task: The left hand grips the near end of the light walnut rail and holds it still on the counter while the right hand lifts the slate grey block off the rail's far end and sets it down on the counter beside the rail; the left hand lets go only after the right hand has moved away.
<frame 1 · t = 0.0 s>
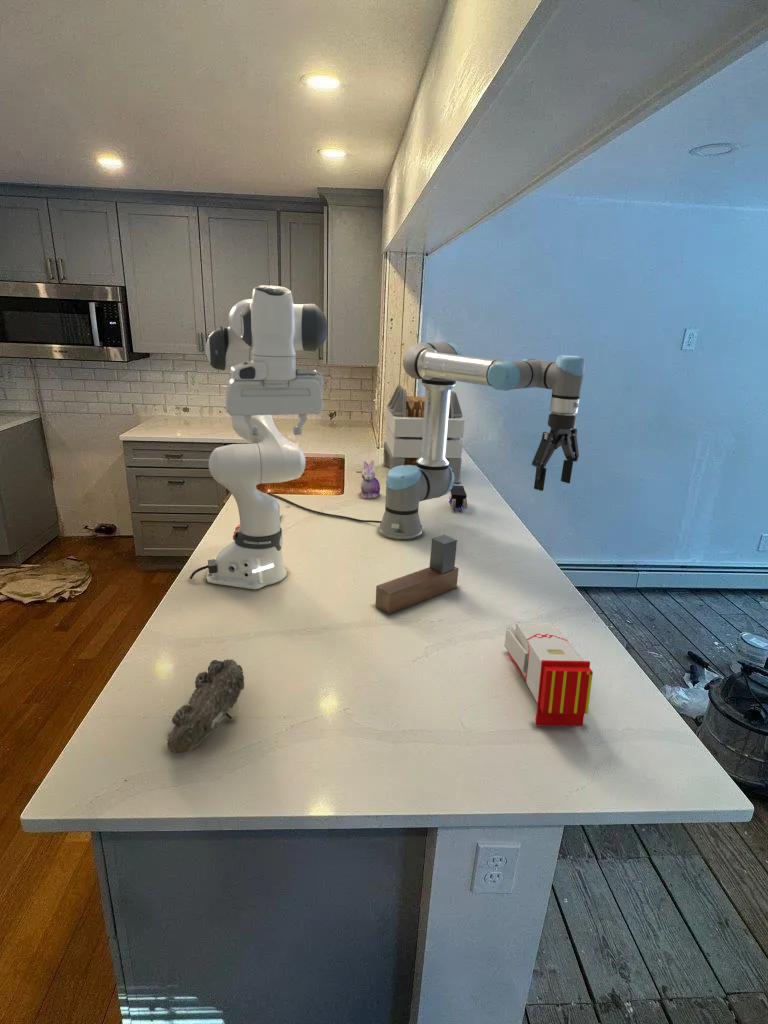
left hand: (275, 435, 122), 48 cm above the counter, fingers open, 8 cm apart
right hand: (552, 485, 166), 28 cm above the counter, fingers open, 13 cm apart
figurine character: (456, 507, 229), on the counter
toy: (538, 683, 122), on the counter
figurine: (369, 495, 239), on the counter
grey block: (441, 568, 161), point 6 cm above the counter, touching walnut rail
feather: (280, 519, 209), on the counter
white wooden box: (419, 473, 275), on the counter
walnut rail: (417, 596, 157), on the counter, touching grey block
fossil: (212, 717, 108), on the counter
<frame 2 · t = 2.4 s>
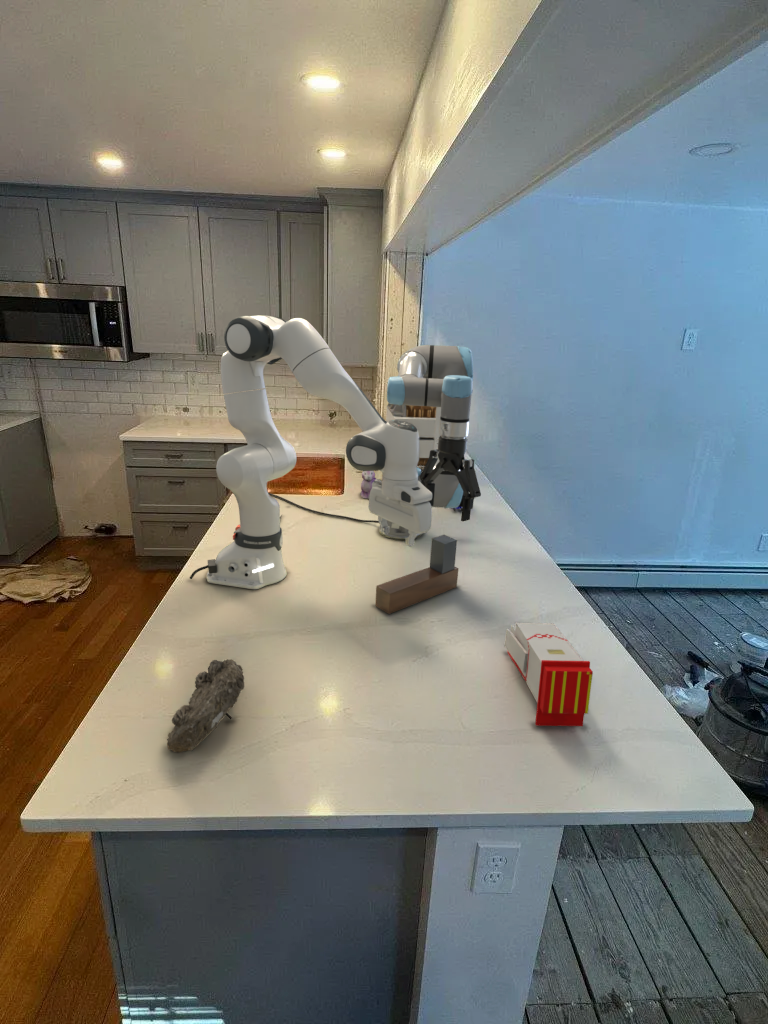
left hand: (397, 538, 145), 19 cm above the counter, fingers open, 8 cm apart
right hand: (446, 513, 155), 23 cm above the counter, fingers open, 13 cm apart
nothing on the counter moved.
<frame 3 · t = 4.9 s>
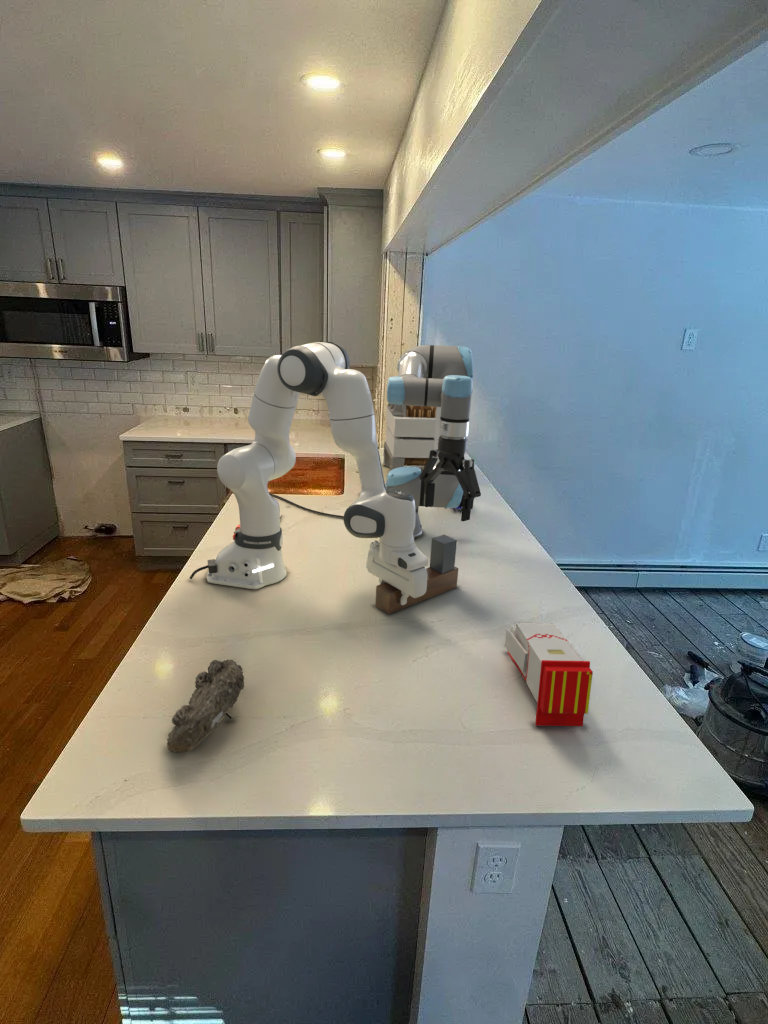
left hand: (393, 598, 151), 2 cm above the counter, fingers closed on walnut rail, 5 cm apart
right hand: (446, 513, 155), 23 cm above the counter, fingers open, 13 cm apart
walnut rail: (417, 596, 157), on the counter, touching grey block, left hand
everything else where it was.
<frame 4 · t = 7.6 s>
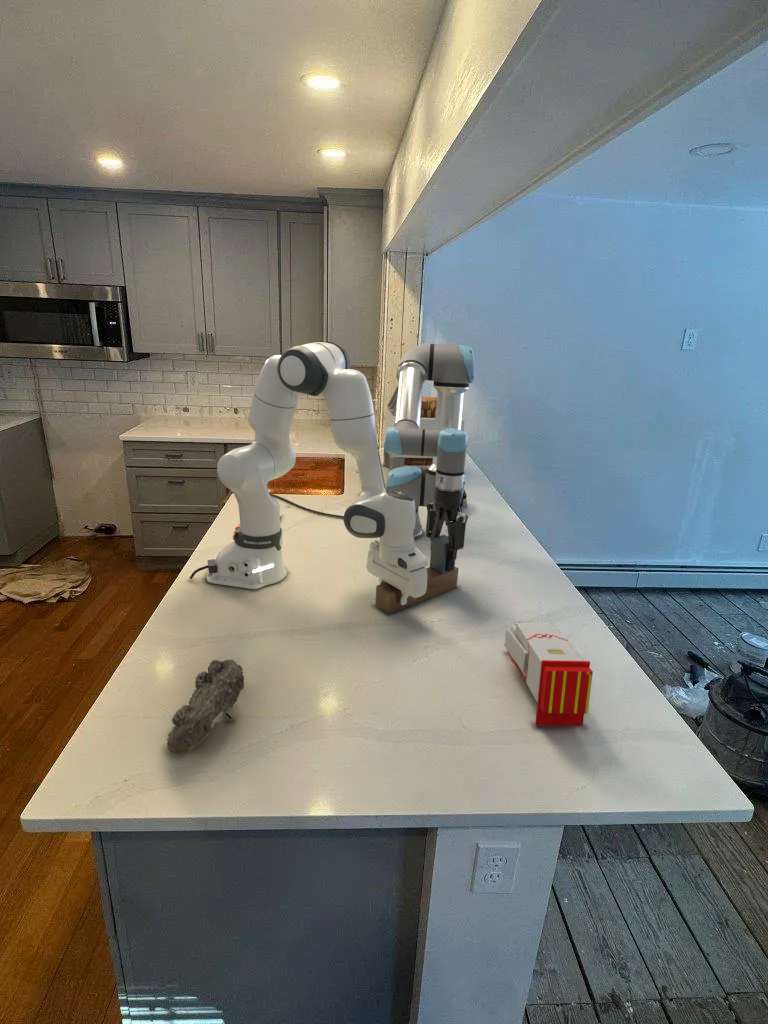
left hand: (393, 598, 151), 2 cm above the counter, fingers closed on walnut rail, 5 cm apart
right hand: (442, 566, 160), 7 cm above the counter, fingers closed on grey block, 5 cm apart
grey block: (441, 568, 161), point 6 cm above the counter, touching right hand, walnut rail
walnut rail: (417, 596, 157), on the counter, touching grey block, left hand
everything else where it was.
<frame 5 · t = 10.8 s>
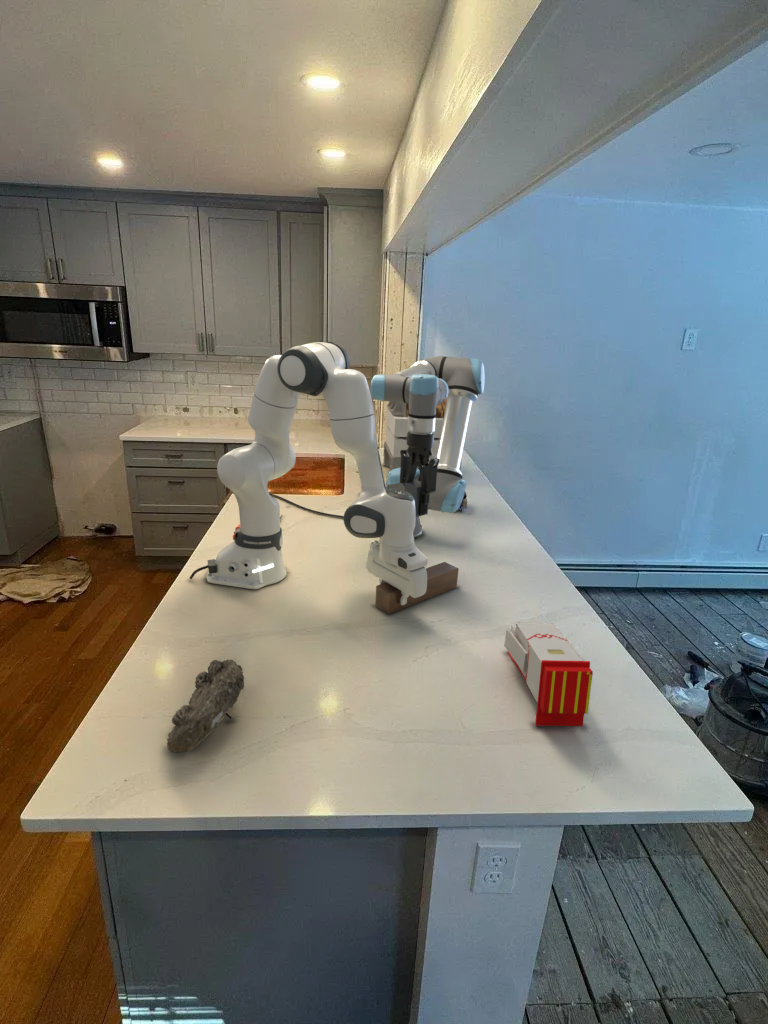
left hand: (393, 598, 151), 2 cm above the counter, fingers closed on walnut rail, 5 cm apart
right hand: (415, 511, 164), 20 cm above the counter, fingers closed on grey block, 5 cm apart
grey block: (415, 513, 165), point 19 cm above the counter, touching right hand
walnut rail: (417, 596, 157), on the counter, touching left hand
everything else where it was.
when the right hand's fingers open (2 cm above the counter, at t = 14.1 s): grey block drops 2 cm, on the counter.
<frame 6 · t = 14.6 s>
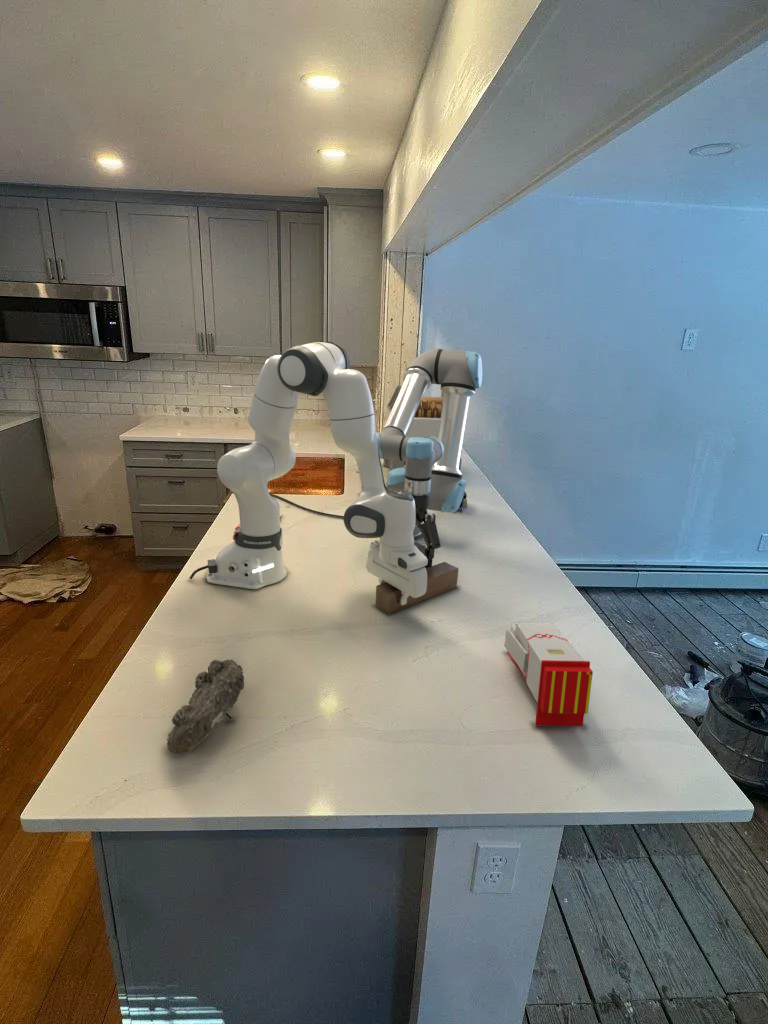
left hand: (393, 598, 151), 2 cm above the counter, fingers closed on walnut rail, 5 cm apart
right hand: (412, 560, 170), 4 cm above the counter, fingers open, 12 cm apart
grey block: (411, 572, 171), on the counter
walnut rail: (417, 596, 157), on the counter, touching left hand
everything else where it was.
when the left hand's fingers open (2 cm above the counter, at t = 17.4 s): walnut rail stays where it is, on the counter.
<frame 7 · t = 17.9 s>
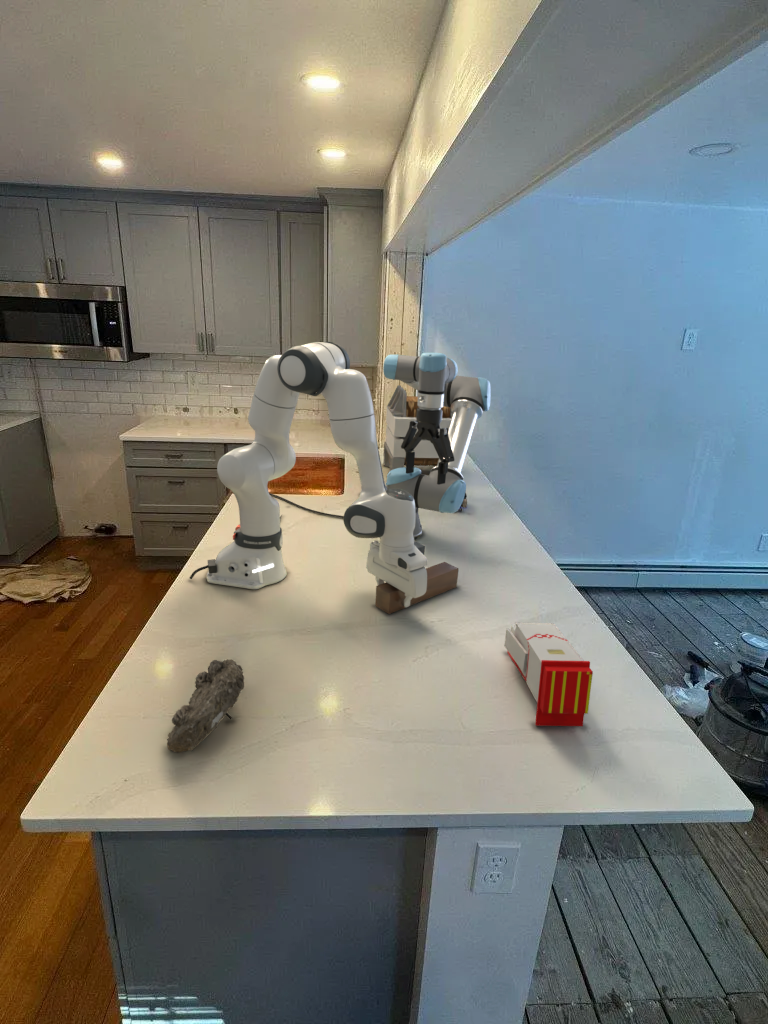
left hand: (393, 598, 151), 2 cm above the counter, fingers open, 8 cm apart
right hand: (424, 478, 172), 27 cm above the counter, fingers open, 13 cm apart
walnut rail: (417, 596, 157), on the counter
everything else where it was.
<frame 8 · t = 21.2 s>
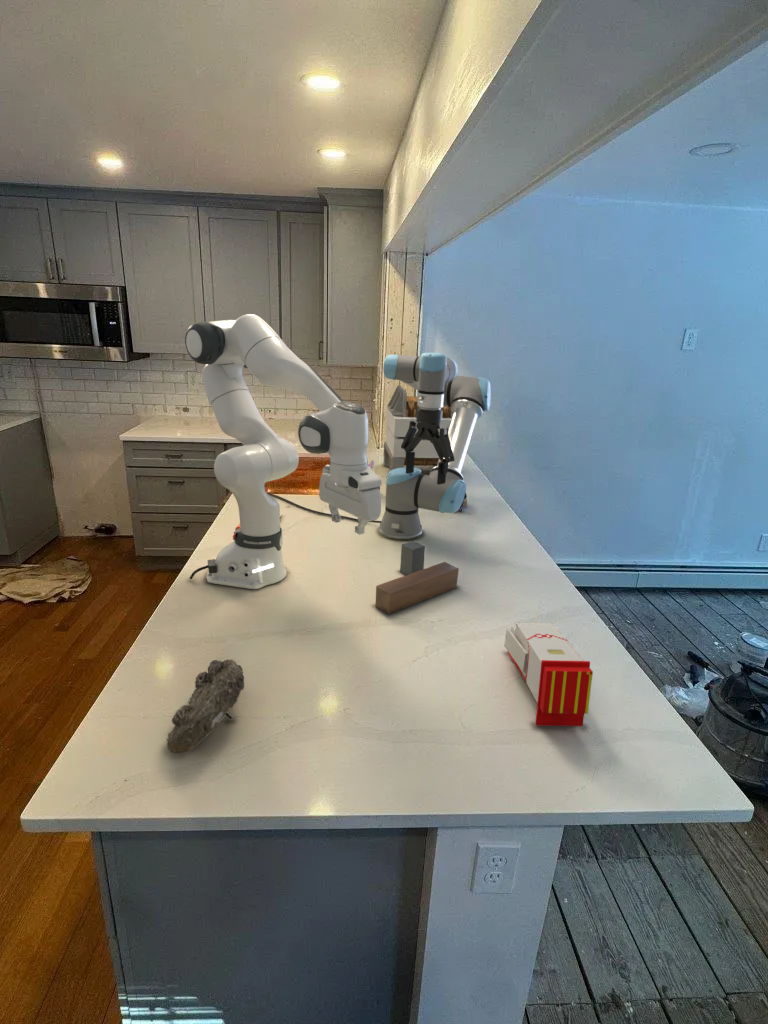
left hand: (347, 527, 138), 24 cm above the counter, fingers open, 8 cm apart
right hand: (424, 478, 172), 27 cm above the counter, fingers open, 13 cm apart
nothing on the counter moved.
at the end: grey block inside the target area (0.0 cm from its centre), on the counter; walnut rail moved 0.0 cm from its start; the left hand is holding nothing; the right hand is holding nothing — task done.
